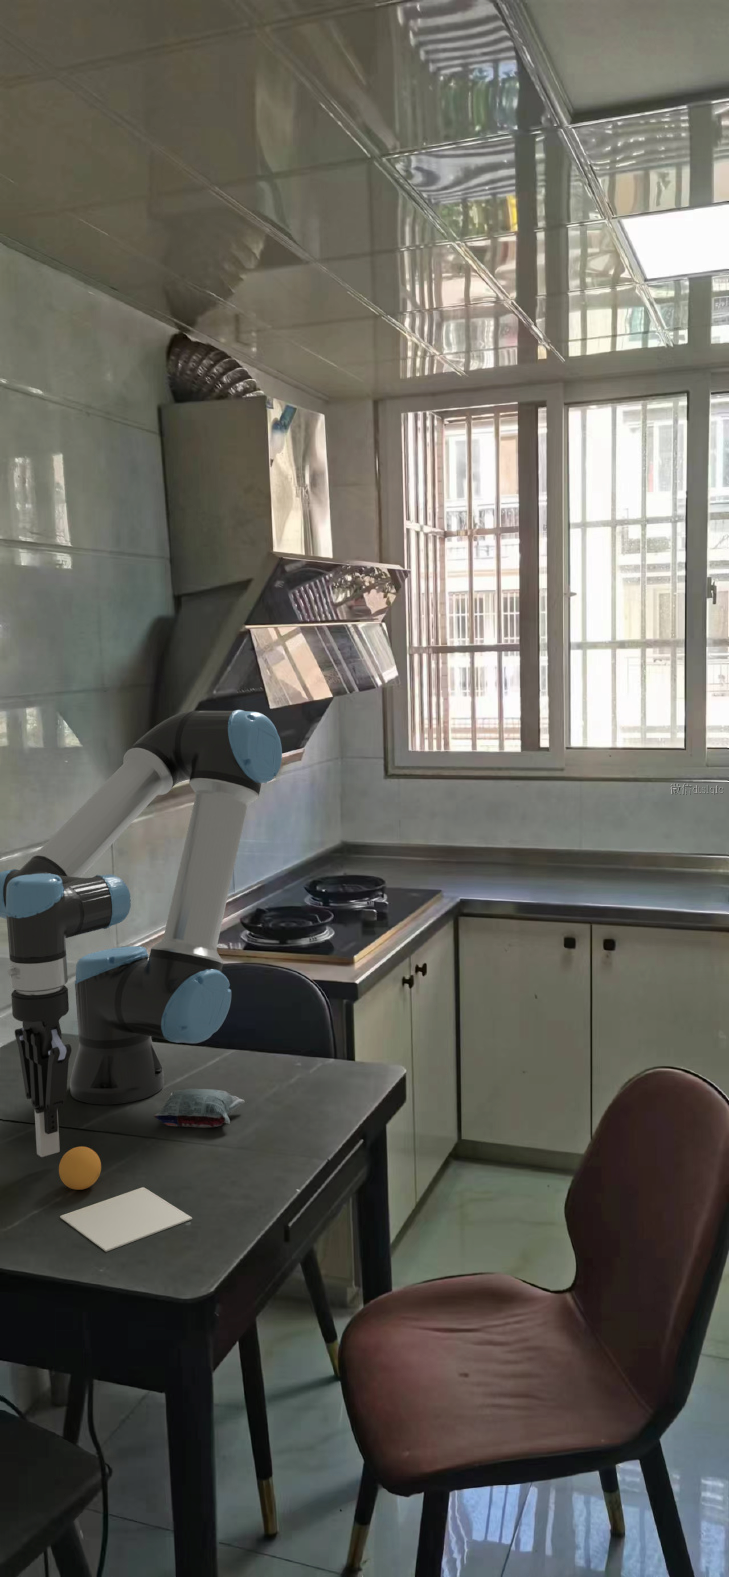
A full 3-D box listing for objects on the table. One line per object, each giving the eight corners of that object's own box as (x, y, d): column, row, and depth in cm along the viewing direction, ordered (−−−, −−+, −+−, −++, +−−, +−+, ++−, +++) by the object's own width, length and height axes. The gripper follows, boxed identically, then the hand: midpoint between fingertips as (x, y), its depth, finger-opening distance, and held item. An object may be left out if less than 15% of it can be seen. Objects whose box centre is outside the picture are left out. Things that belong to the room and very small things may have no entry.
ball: (52, 1187, 158) (50, 1147, 158) (90, 1175, 162) (88, 1136, 161) (71, 1200, 154) (69, 1160, 154) (109, 1188, 158) (107, 1148, 157)
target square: (59, 1217, 150) (59, 1215, 150) (143, 1188, 157) (143, 1187, 157) (106, 1251, 141) (105, 1250, 141) (192, 1219, 148) (192, 1217, 148)
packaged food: (172, 1109, 186) (171, 1079, 185) (245, 1113, 184) (244, 1082, 183) (153, 1132, 177) (151, 1100, 177) (229, 1136, 175) (228, 1104, 175)
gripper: (-7, 983, 165) (3, 1146, 167) (34, 1002, 155) (43, 1175, 158) (44, 973, 170) (52, 1132, 172) (86, 991, 160) (94, 1159, 162)
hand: (48, 1152), depth 165 cm, fingers closed
